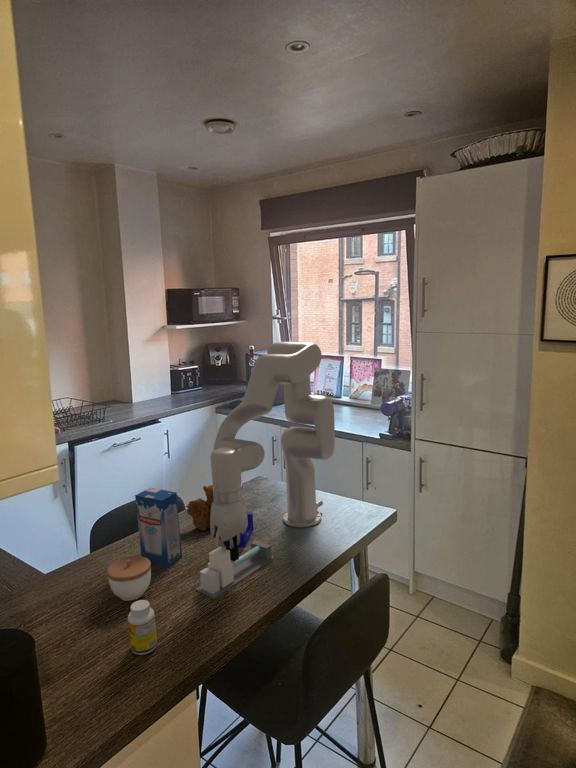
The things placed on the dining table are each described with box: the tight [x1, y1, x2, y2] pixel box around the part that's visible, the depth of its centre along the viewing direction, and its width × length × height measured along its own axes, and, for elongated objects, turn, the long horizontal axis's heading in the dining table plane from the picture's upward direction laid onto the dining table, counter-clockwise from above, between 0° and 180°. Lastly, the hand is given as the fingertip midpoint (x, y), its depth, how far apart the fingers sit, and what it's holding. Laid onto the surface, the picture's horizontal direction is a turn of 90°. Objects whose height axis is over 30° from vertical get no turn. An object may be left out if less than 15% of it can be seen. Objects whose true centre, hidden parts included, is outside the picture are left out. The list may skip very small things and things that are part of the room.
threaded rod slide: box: [194, 539, 276, 600], centre depth 140 cm, size 24×7×5 cm, turn 142°
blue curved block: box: [238, 511, 254, 548], centre depth 161 cm, size 12×4×6 cm, turn 171°
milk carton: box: [134, 487, 183, 568], centre depth 149 cm, size 10×6×20 cm, turn 62°
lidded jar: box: [106, 555, 152, 602], centre depth 133 cm, size 11×11×9 cm
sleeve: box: [207, 546, 234, 588], centre depth 135 cm, size 4×5×8 cm
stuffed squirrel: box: [185, 484, 214, 531], centre depth 170 cm, size 10×14×13 cm
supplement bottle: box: [127, 599, 158, 656], centre depth 112 cm, size 6×6×10 cm
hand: (232, 558), depth 139 cm, fingers closed
